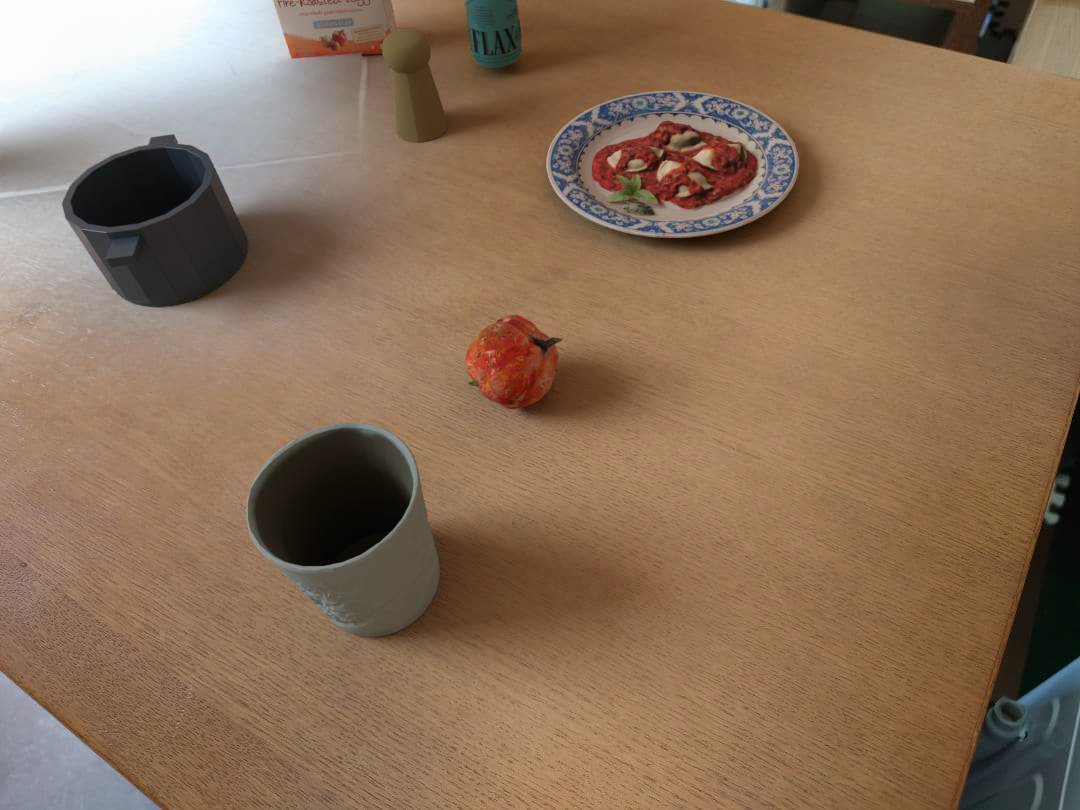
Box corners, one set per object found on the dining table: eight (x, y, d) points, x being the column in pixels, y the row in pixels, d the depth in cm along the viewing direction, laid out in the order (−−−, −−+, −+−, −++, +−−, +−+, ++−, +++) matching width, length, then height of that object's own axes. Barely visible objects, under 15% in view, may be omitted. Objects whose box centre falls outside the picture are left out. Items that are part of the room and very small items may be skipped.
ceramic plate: (676, 83, 93) (678, 59, 91) (849, 179, 79) (856, 153, 77) (500, 168, 85) (497, 144, 82) (659, 292, 71) (661, 267, 69)
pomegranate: (477, 440, 64) (566, 412, 58) (419, 377, 62) (506, 340, 55) (512, 382, 69) (597, 350, 63) (460, 321, 66) (544, 281, 60)
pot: (89, 335, 73) (34, 261, 66) (134, 211, 85) (91, 137, 78) (234, 316, 73) (195, 240, 66) (258, 195, 85) (227, 120, 78)
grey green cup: (458, 519, 57) (428, 420, 48) (442, 654, 51) (404, 569, 42) (324, 520, 58) (269, 422, 49) (291, 652, 52) (222, 569, 42)
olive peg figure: (411, 110, 94) (391, 18, 85) (456, 117, 92) (441, 24, 83) (387, 137, 90) (364, 44, 82) (434, 145, 89) (415, 51, 80)
